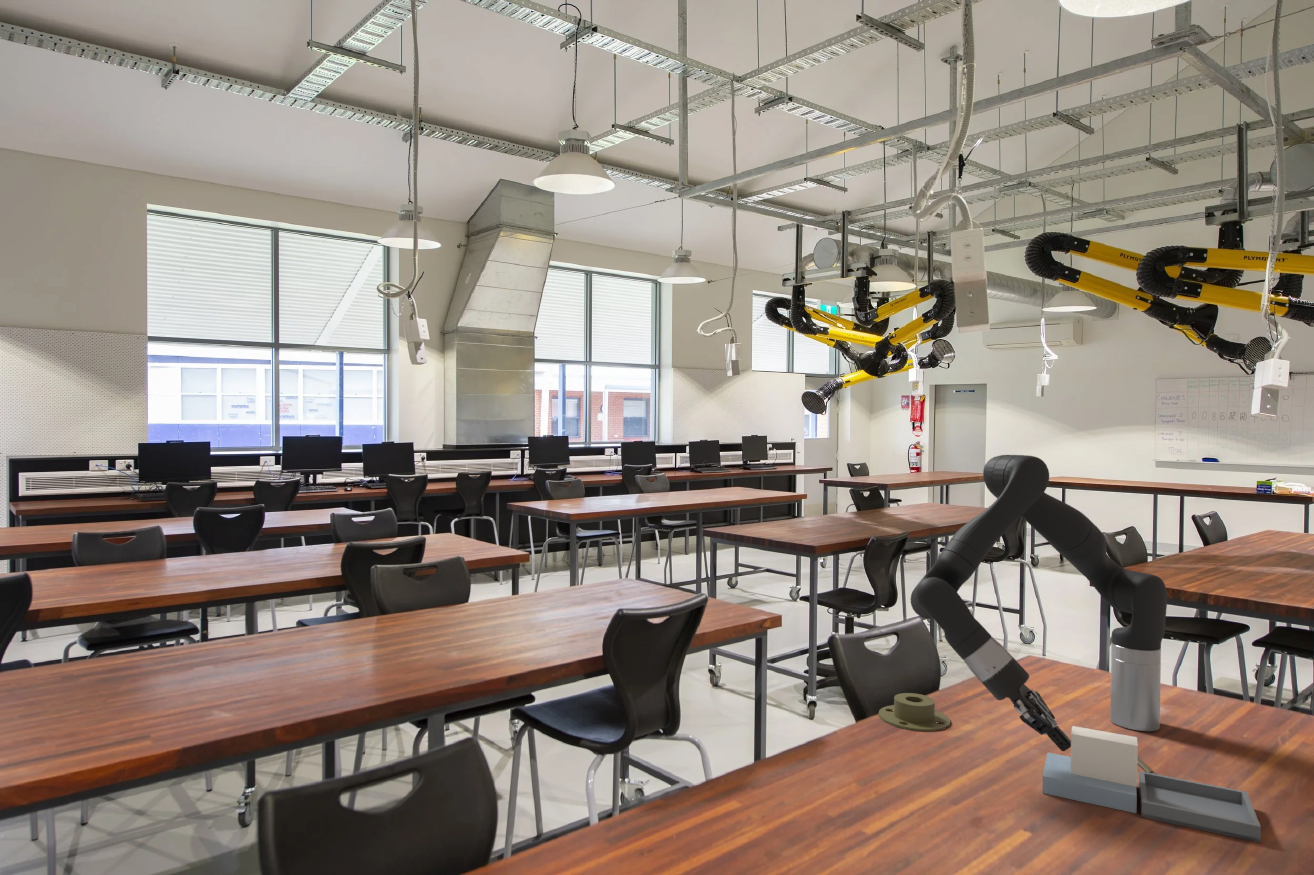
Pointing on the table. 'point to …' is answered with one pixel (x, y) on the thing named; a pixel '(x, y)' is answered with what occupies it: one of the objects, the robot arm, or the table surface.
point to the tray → (1198, 806)
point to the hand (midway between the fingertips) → (1067, 747)
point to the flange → (914, 713)
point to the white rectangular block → (1104, 755)
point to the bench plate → (1085, 786)
